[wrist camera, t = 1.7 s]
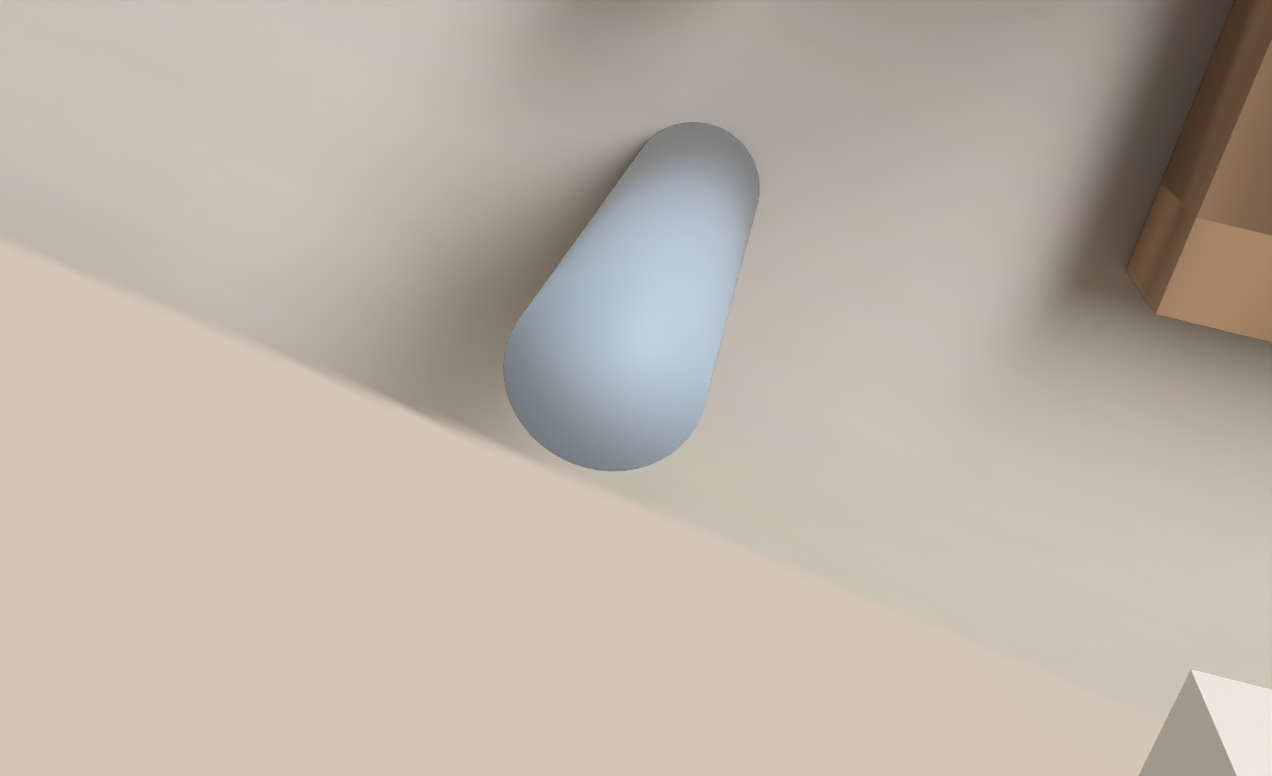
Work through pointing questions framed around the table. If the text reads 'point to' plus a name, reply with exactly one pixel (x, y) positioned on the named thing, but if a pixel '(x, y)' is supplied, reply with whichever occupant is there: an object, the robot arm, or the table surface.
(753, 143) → the table surface
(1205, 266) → the socket block
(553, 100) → the table surface
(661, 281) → the long peg
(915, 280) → the table surface
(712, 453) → the table surface
